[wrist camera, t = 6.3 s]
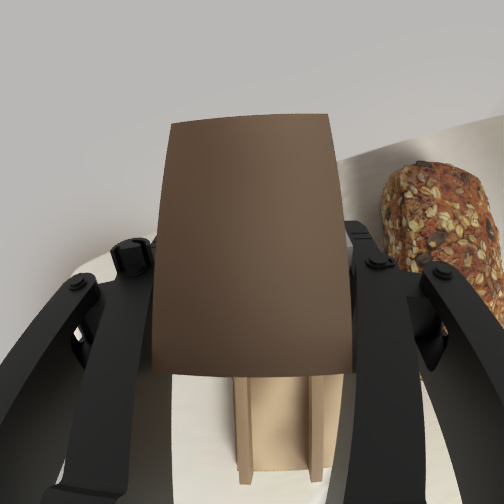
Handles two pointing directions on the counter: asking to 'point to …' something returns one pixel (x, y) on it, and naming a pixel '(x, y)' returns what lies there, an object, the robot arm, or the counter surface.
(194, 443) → the counter surface
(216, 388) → the counter surface
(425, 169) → the bread
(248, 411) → the divided tray
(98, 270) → the counter surface
